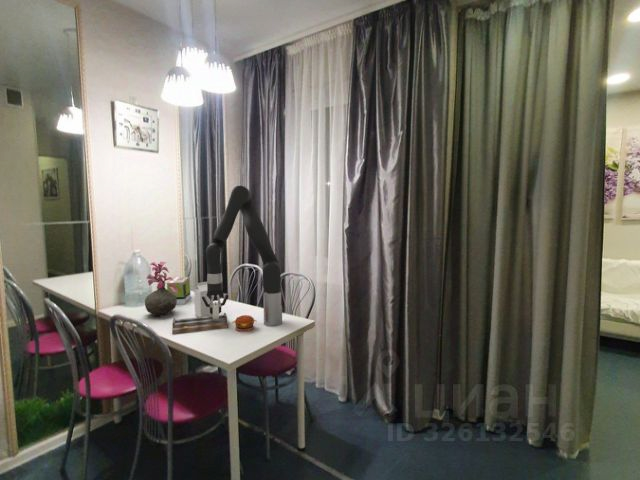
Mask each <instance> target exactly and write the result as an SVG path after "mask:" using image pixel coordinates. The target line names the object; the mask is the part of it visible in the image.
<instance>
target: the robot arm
mask: <svg viewBox="0 0 640 480" xmlns="http://www.w3.org/2000/svg"><path fill="white" fill-rule="evenodd" d="M228 199H229V200H228V201H227V202H228V203H227V205H226V208H225V210H224V212H223V214H222V217H221V219H220V221H219V223H218V224H217V227H216V229H215V231H214V233H213V237H212V239H211V242H210V243H209V245H207V247H205V248H206V249H205V258H206V265H207V268H206V269H207V275H206V282H207V294H206V295H204V296H202V299H203V301H204V303H205V305H206V307H209V308H210V314H211V315H210V316H213V307H212V305H213V303H214V302H218V304H219V315H221V313H222V306H225V305H226V302H227V300H228V298H229V294H228V293H224V291H223V290H224V289H223V287H224V286H223V274H222V273H223V270H222V269H223V268H222V262H221V254H222V251H223V249H224V246H225V244H226V241H227V240H228V238H229V237H230V234H231V232H232V230H233V227H234V224H235V222H236V220H237V217H238V214H239V212H241V215H242V219H243V223H244V226H245V230H246V233H247V236H248V238H249V240H250V242H251V245H252V246H253V247H254V249H255V250H256V251H257V253H258V254H259V256H260V259H261V261H262V263H263V268H262V288H263V325H265V326H270V327H276V326H279V325H281V324H283V306H282V286H281V284H282V283H281V279H282V278H281V273H282V265H281V263H280V261H279V260H278V257H277V256H276V254H275V252H274V250H273V247H272V245H271V241H270V238H269V235H268V232H267V231H266V228H265V226H264V224H263V222H262V220H261V217H260V216H259V214H258V211H257V210H256V208H255V205H254V202H253V198H252V195H251V192H250V190H249V189H248V188H247V187H246V186H244V185H236V186H234V187H233V188H232V190H231V192H230V196H229V198H228ZM207 297H208V298H209V299H210V304H208V303H207V301H206V299H207ZM222 297H223V299H222ZM221 299H222V302H221Z"/></svg>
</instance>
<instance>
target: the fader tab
mask: <svg viewBox="0 0 640 480" xmlns="http://www.w3.org/2000/svg"><path fill="white" fill-rule="evenodd" d="M212 307H213V315H212V316H213V319H219V315H220V314H219V304H218V301H214V302H213V305H212Z"/></svg>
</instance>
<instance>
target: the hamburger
mask: <svg viewBox="0 0 640 480" xmlns="http://www.w3.org/2000/svg"><path fill="white" fill-rule="evenodd" d="M255 322H257V320H256V319H255V318H254V317H253V316H251V315H247V314H245V315H240V316H237V317H236V318H235V320H232V324H235V330H236V331H237V332H241V333H246V332H251V331H252V330H254V328H255V326H254V323H255Z"/></svg>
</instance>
